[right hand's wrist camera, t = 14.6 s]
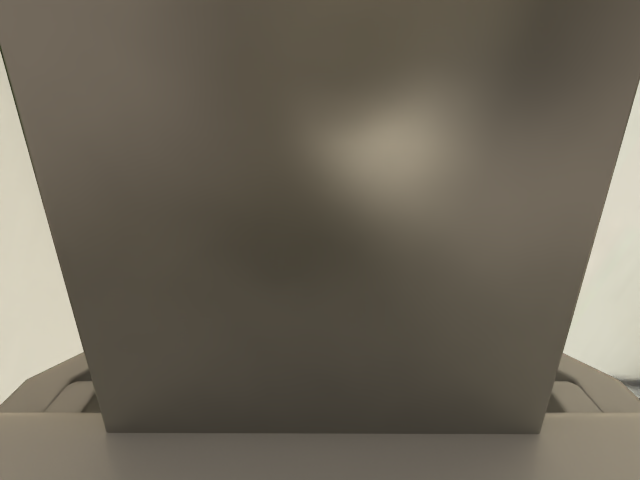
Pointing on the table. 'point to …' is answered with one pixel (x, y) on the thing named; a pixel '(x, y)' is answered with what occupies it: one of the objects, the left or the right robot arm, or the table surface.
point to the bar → (323, 201)
